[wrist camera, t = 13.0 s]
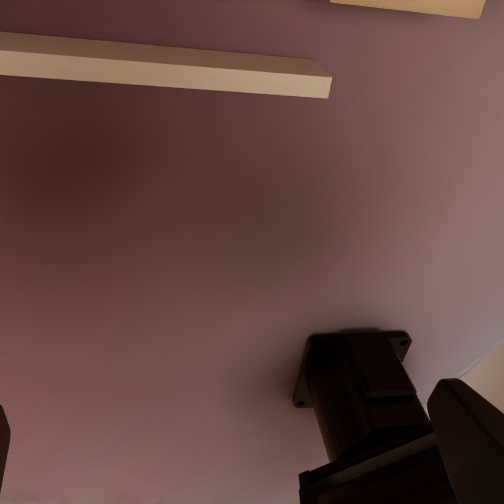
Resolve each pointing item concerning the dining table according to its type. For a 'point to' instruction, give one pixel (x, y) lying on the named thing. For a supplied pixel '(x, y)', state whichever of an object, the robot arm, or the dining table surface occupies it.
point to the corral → (159, 66)
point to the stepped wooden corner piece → (426, 6)
